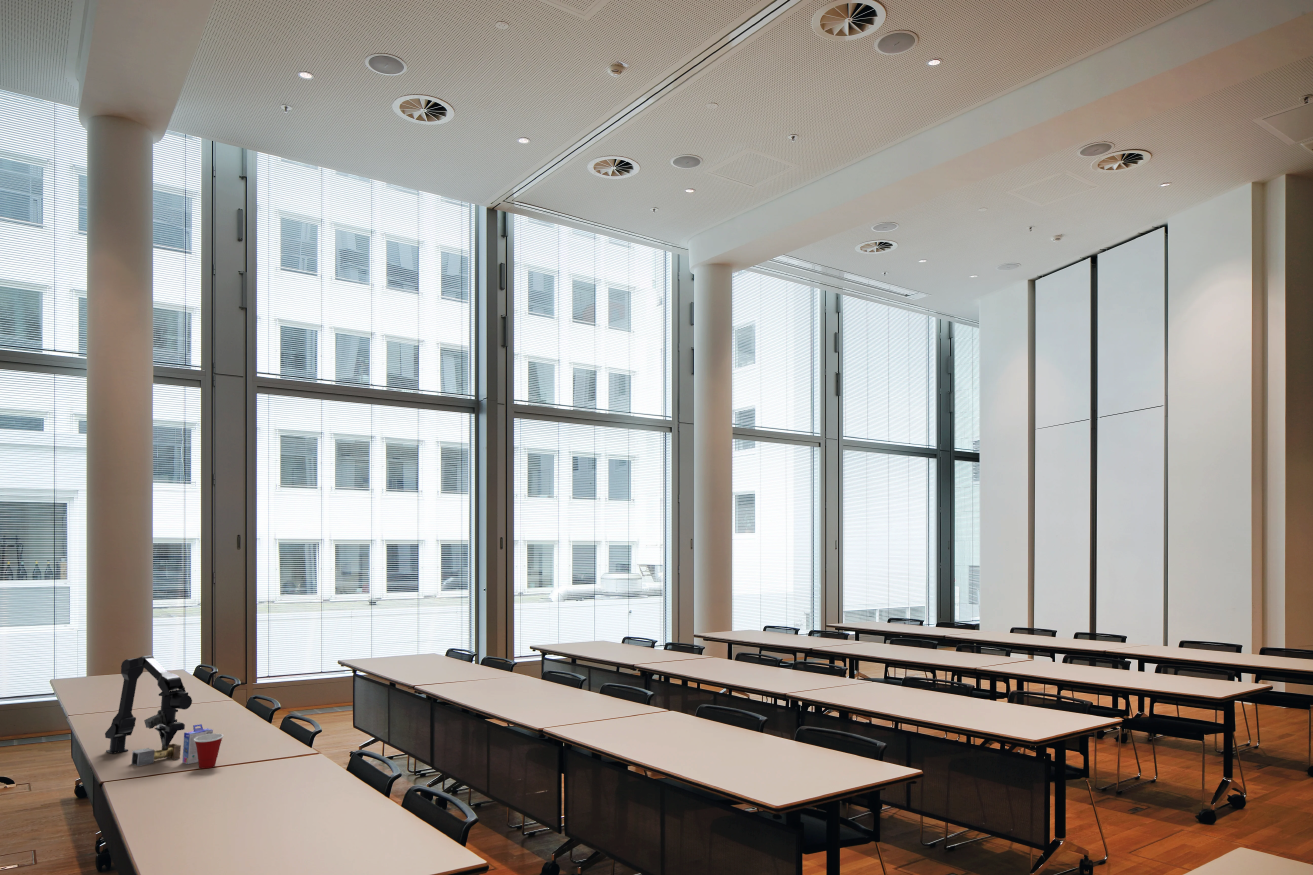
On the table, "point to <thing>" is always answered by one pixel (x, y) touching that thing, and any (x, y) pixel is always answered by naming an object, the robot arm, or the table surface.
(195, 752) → the ink cartridge box
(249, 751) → the table surface
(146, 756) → the grey hammer head
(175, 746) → the socket block
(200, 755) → the plastic cup
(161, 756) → the gold elongated piece
